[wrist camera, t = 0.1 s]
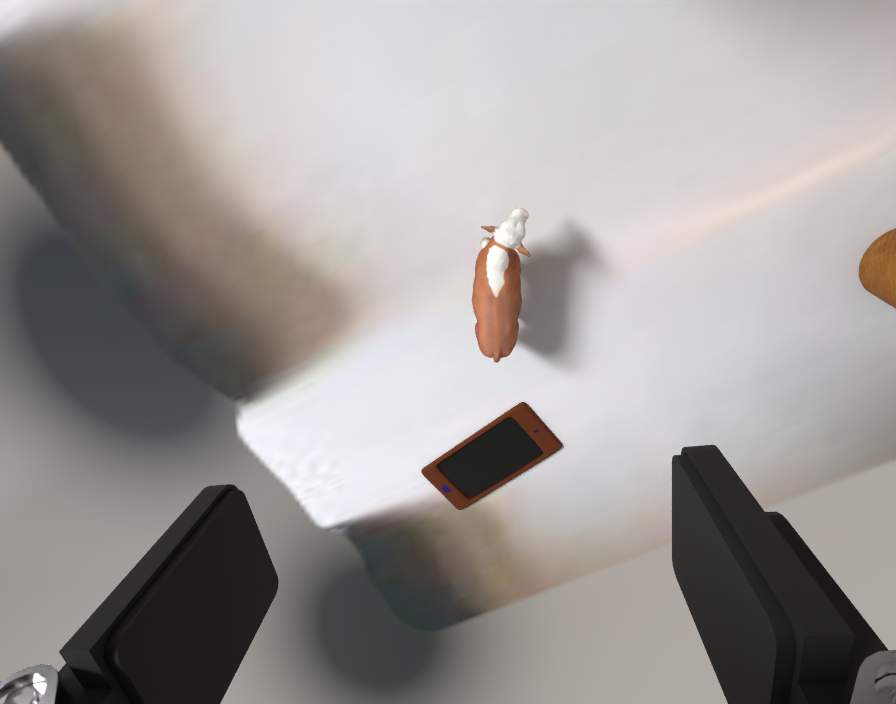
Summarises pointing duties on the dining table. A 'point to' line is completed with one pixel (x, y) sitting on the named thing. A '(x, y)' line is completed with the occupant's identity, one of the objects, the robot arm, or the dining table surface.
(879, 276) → the disposable coffee cup
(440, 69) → the dining table surface
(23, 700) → the robot arm
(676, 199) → the dining table surface
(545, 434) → the smartphone
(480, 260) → the bull figurine
